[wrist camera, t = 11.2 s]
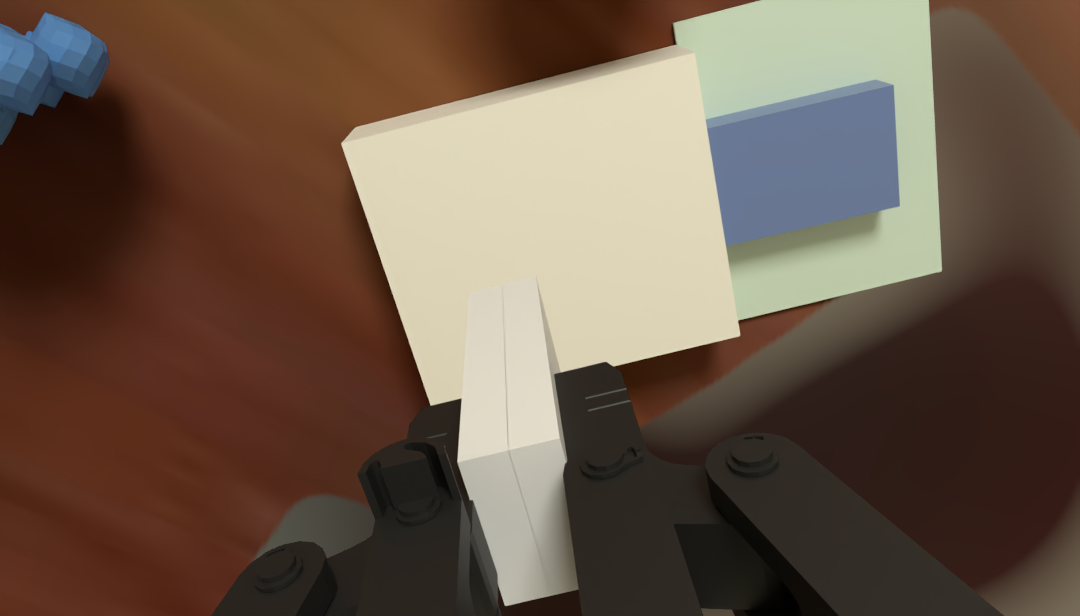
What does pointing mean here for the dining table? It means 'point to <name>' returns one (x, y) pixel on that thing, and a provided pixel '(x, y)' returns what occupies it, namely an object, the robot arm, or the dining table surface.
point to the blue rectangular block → (805, 161)
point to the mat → (808, 68)
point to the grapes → (47, 67)
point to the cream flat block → (554, 213)
